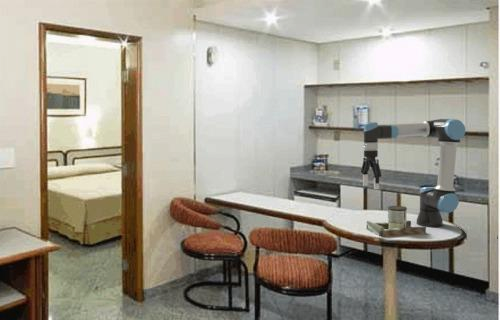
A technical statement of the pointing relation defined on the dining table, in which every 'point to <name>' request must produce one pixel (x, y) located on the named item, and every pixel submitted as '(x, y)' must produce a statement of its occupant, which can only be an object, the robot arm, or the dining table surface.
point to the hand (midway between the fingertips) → (370, 187)
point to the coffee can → (396, 217)
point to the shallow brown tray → (394, 229)
